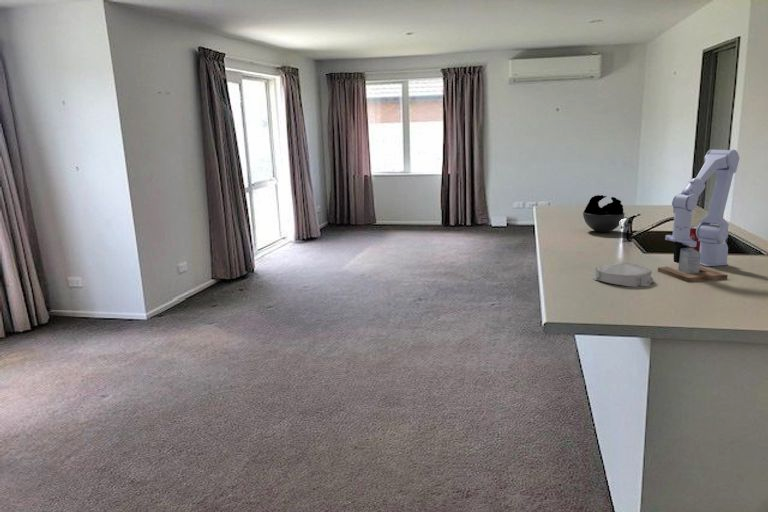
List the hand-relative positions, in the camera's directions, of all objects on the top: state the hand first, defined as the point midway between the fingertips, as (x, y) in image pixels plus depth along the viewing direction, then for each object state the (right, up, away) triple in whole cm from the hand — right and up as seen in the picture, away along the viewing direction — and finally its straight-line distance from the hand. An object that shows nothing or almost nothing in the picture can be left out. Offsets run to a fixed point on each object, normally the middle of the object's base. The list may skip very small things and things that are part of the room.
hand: (678, 262), depth 217 cm
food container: (-25, -7, -10) cm, 28 cm away
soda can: (+19, +2, +25) cm, 31 cm away
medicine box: (+2, -4, -4) cm, 6 cm away
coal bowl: (+2, +15, +82) cm, 83 cm away
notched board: (+2, -5, -6) cm, 8 cm away
